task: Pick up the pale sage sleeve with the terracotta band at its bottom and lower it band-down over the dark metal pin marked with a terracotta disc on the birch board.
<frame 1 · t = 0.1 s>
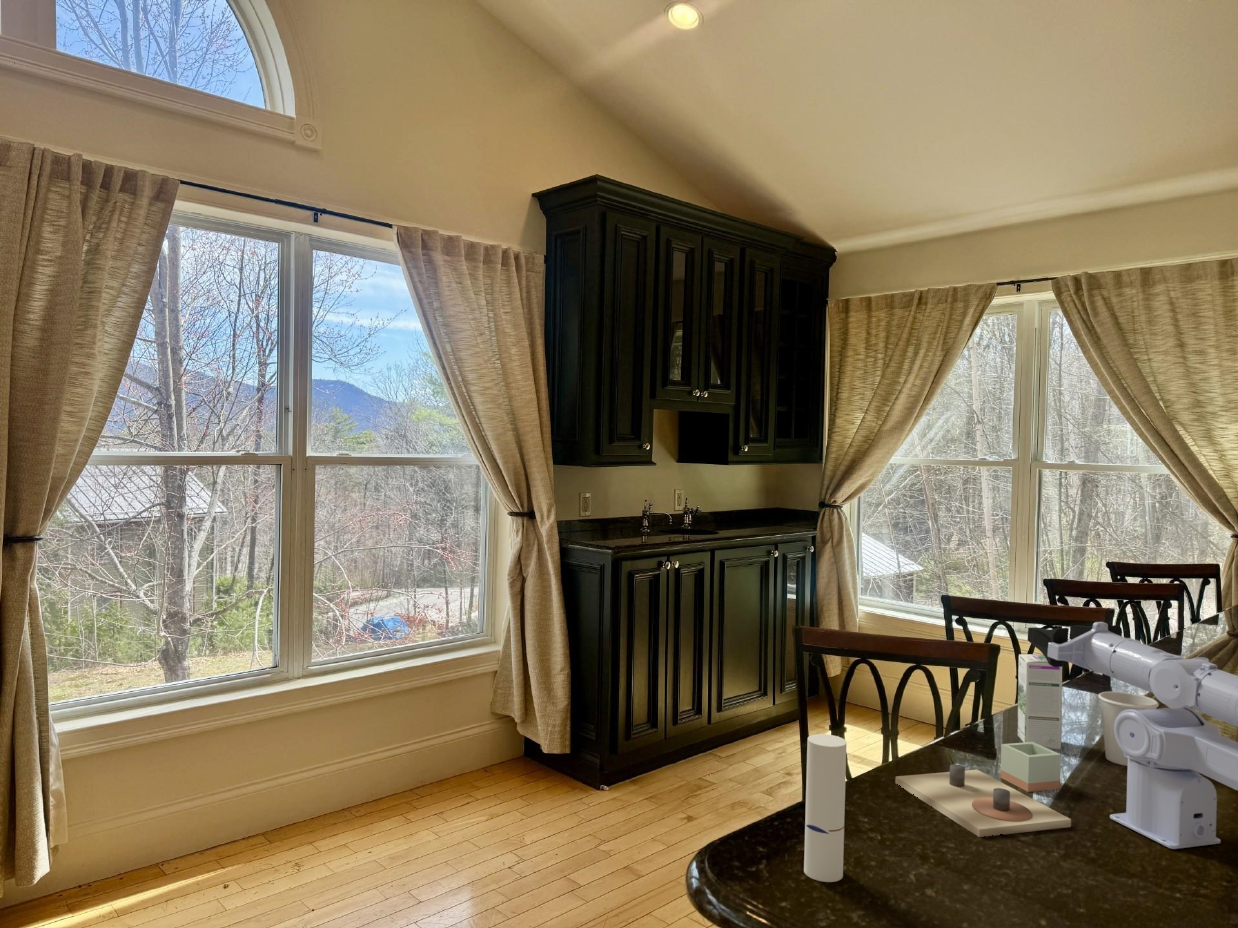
hand: (1050, 632, 128), 22 cm above the breakfast bar, tool horizontal, fingers open, 7 cm apart
syrup box: (1038, 744, 144), on the breakfast bar
tube: (823, 874, 96), on the breakfast bar
dixie cup: (1126, 761, 136), on the breakfast bar
sleeve: (1029, 782, 125), on the breakfast bar
pin board: (978, 803, 117), on the breakfast bar
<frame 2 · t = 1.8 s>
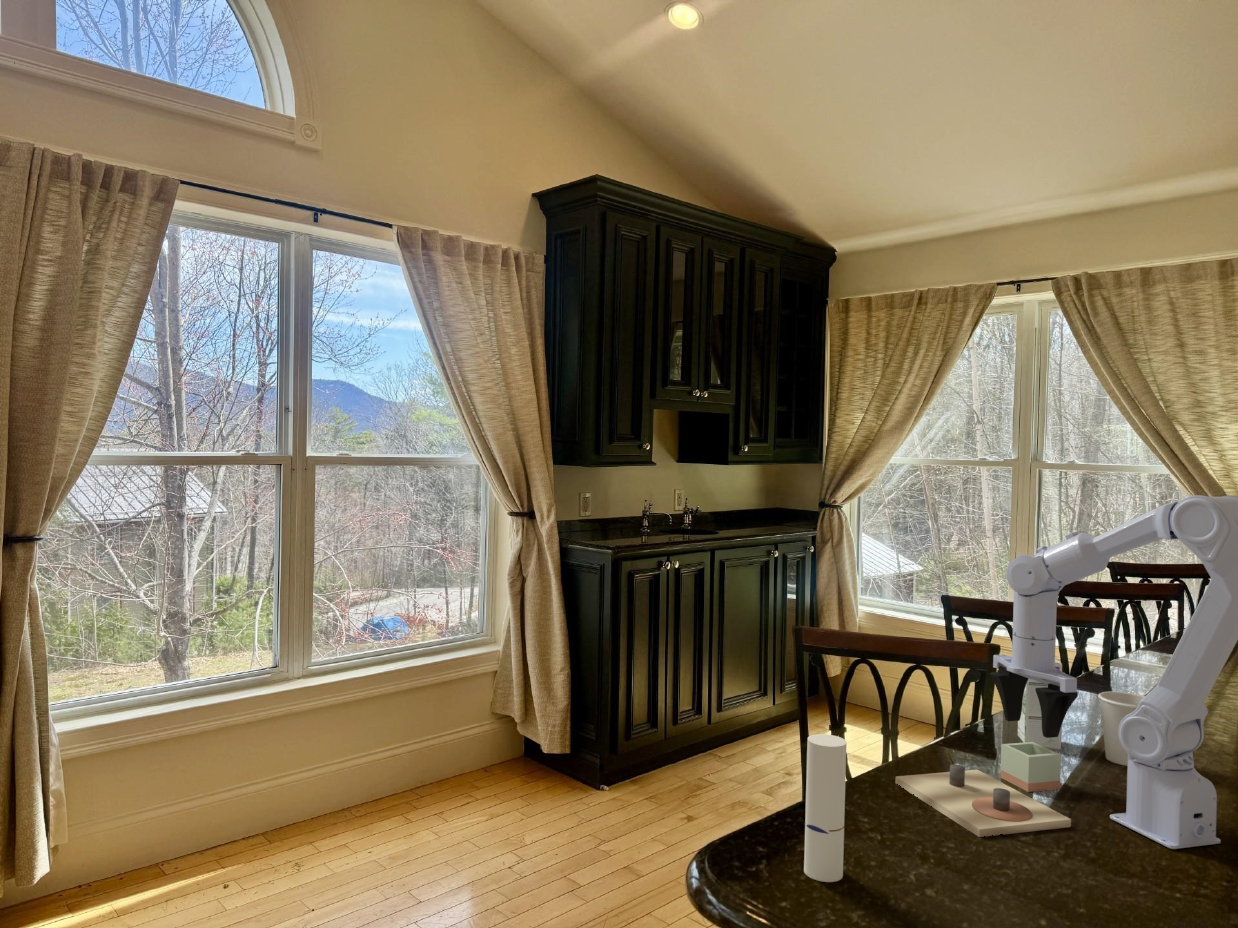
hand: (1031, 728, 125), 8 cm above the breakfast bar, tool pointing down, fingers open, 7 cm apart
nothing on the breakfast bar moved.
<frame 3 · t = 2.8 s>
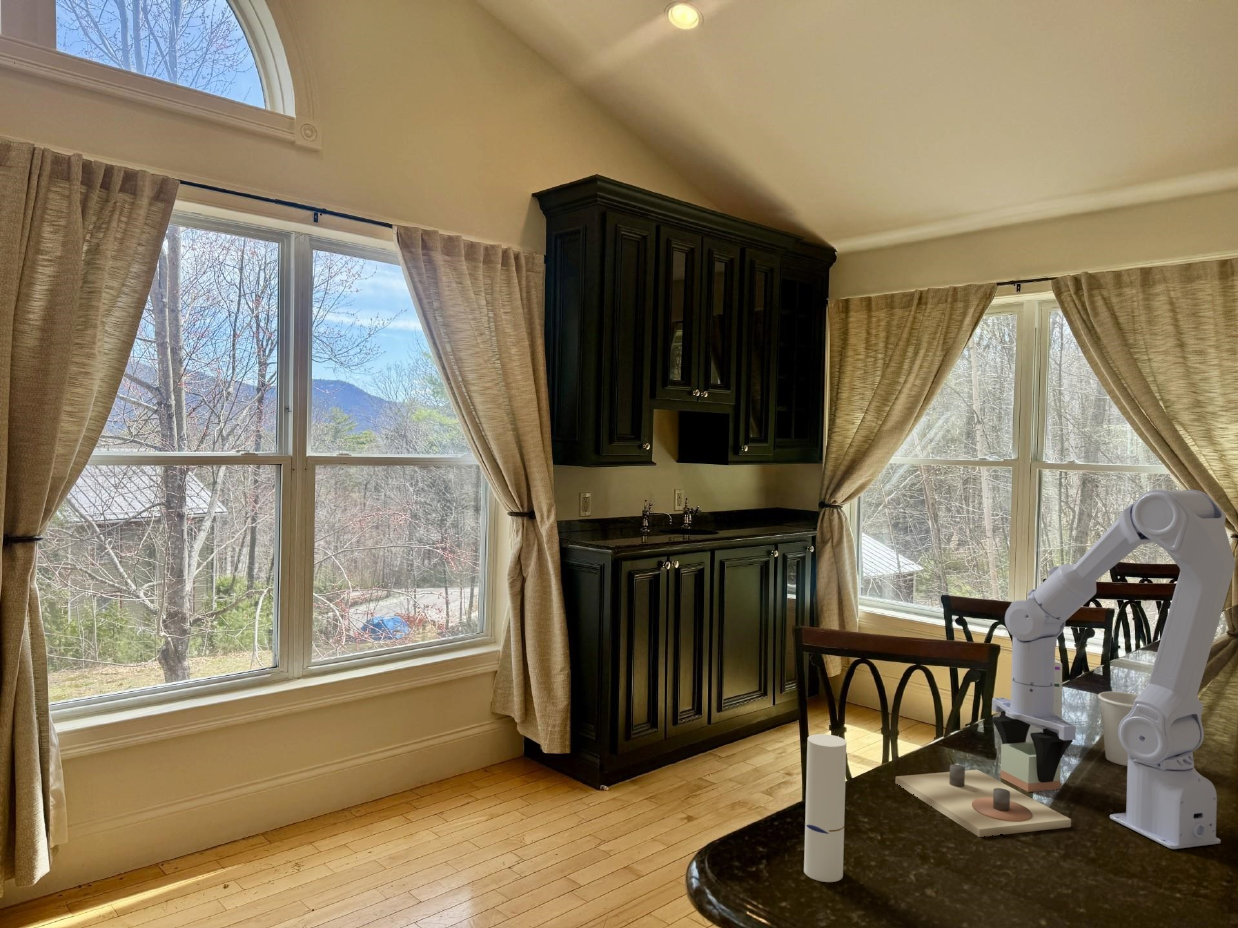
hand: (1030, 773, 125), 1 cm above the breakfast bar, tool pointing down, fingers closed on sleeve, 6 cm apart
sleeve: (1029, 782, 125), on the breakfast bar, touching gripper
everything else where it was.
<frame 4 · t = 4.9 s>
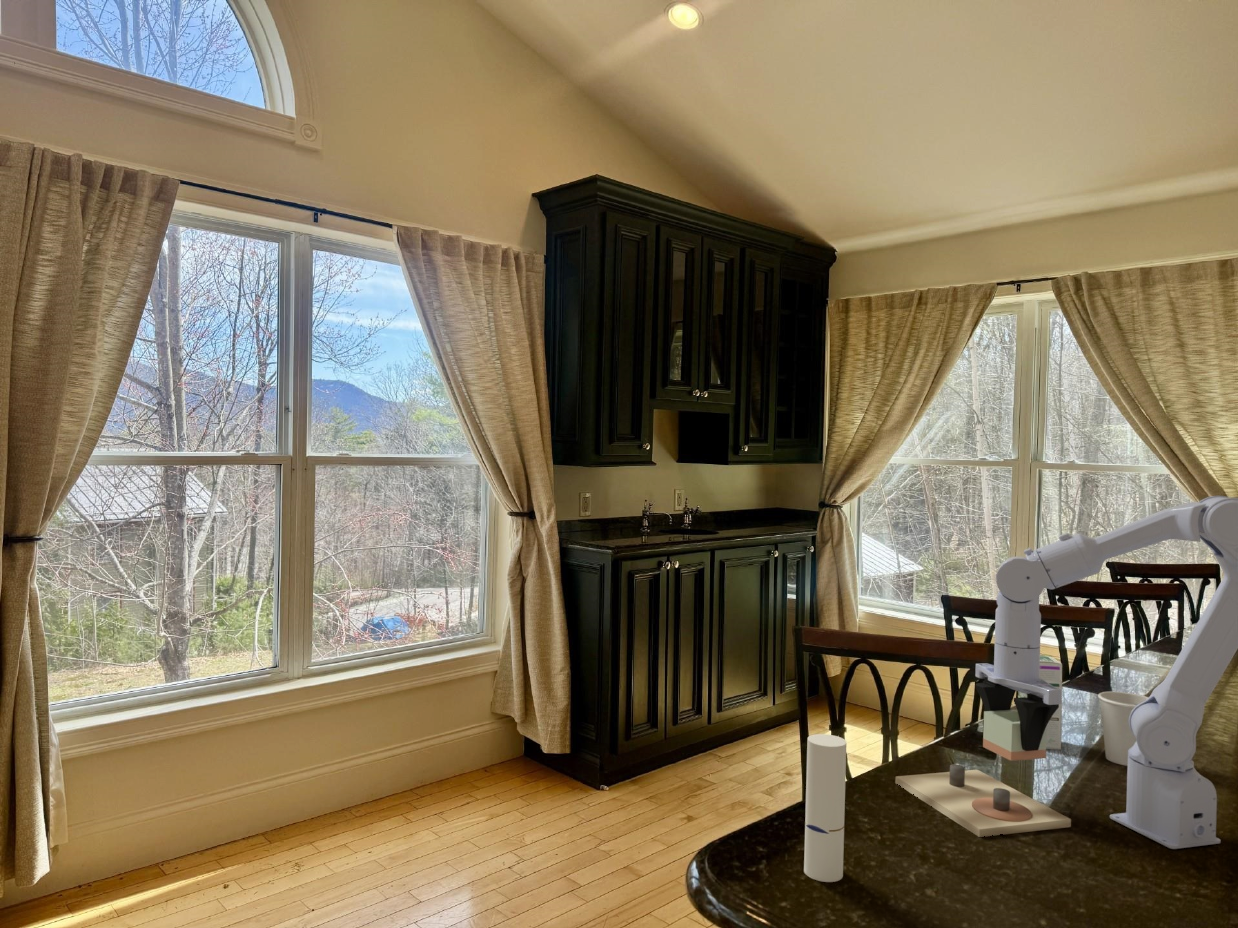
hand: (1014, 742, 117), 8 cm above the breakfast bar, tool pointing down, fingers closed on sleeve, 6 cm apart
sleeve: (1013, 752, 117), point 7 cm above the breakfast bar, touching gripper
everything else where it was.
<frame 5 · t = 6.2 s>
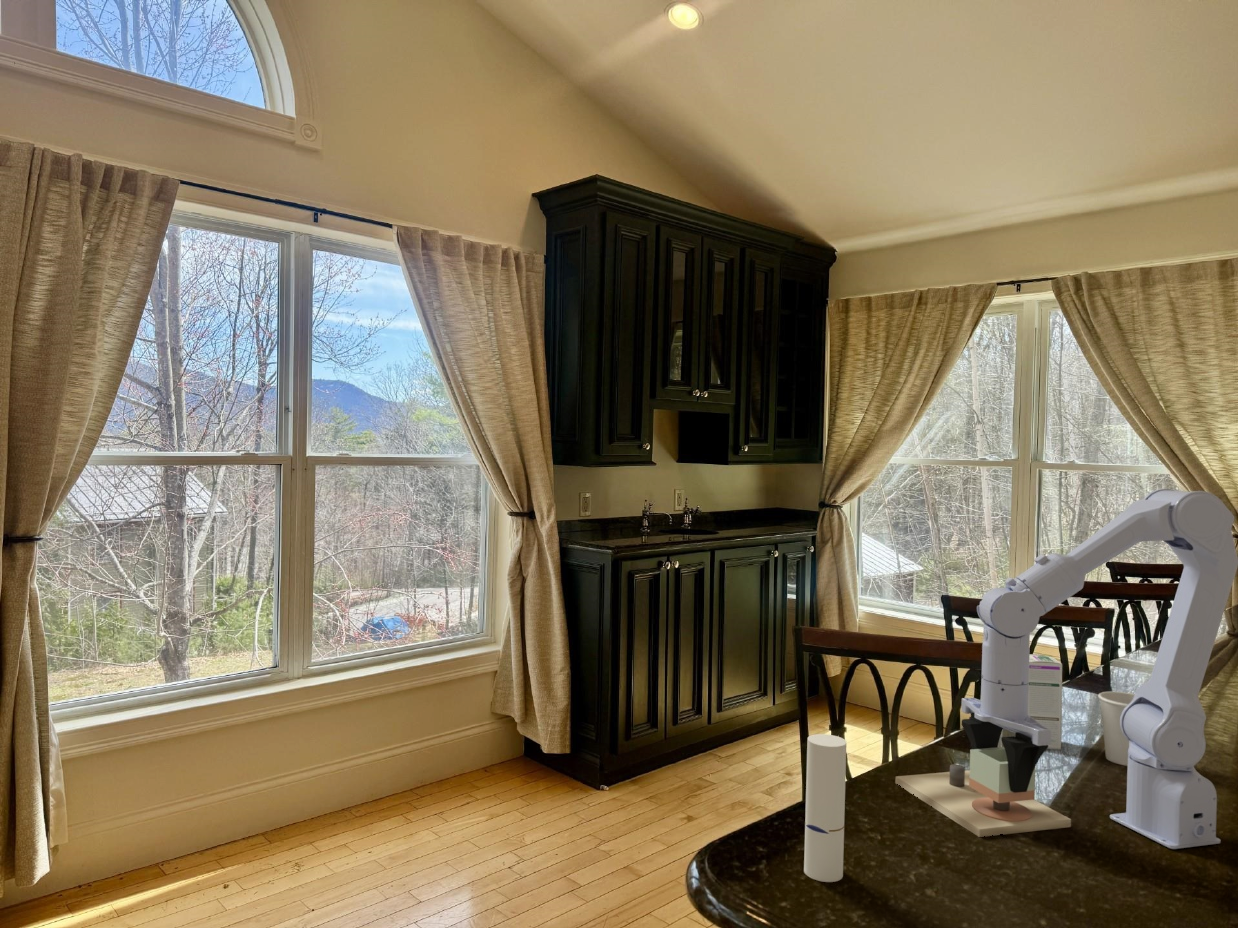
hand: (1001, 782, 112), 5 cm above the breakfast bar, tool pointing down, fingers closed on sleeve, 6 cm apart
sleeve: (1001, 792, 112), point 3 cm above the breakfast bar, touching gripper
everything else where it was.
when the fingers open (3 cm above the breakfast bar, at t = 7.1 s): sleeve stays where it is, resting on pin board.
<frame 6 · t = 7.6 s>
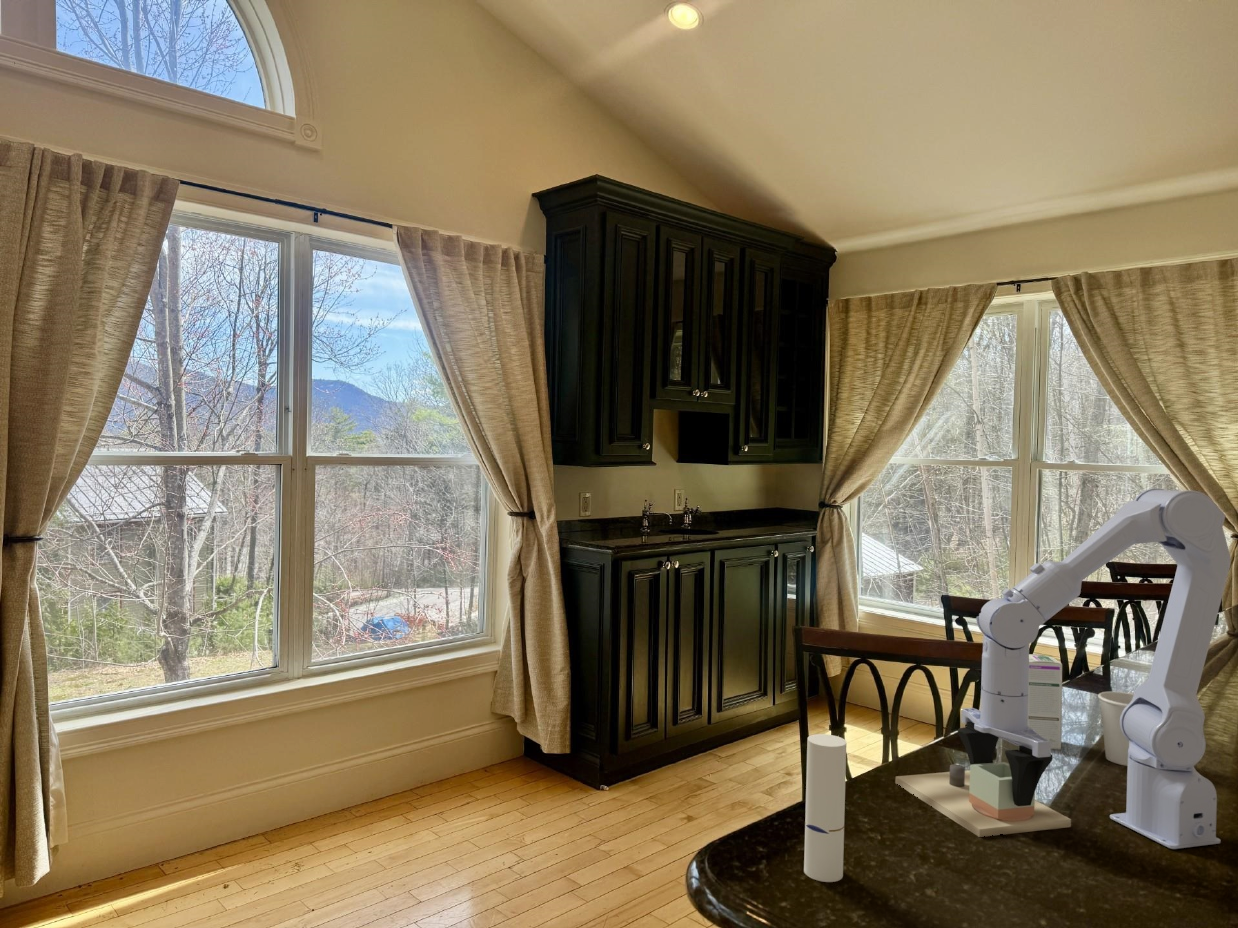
hand: (1001, 793, 112), 3 cm above the breakfast bar, tool pointing down, fingers open, 7 cm apart
sleeve: (1001, 808, 112), point 1 cm above the breakfast bar, touching pin board
everything else where it was.
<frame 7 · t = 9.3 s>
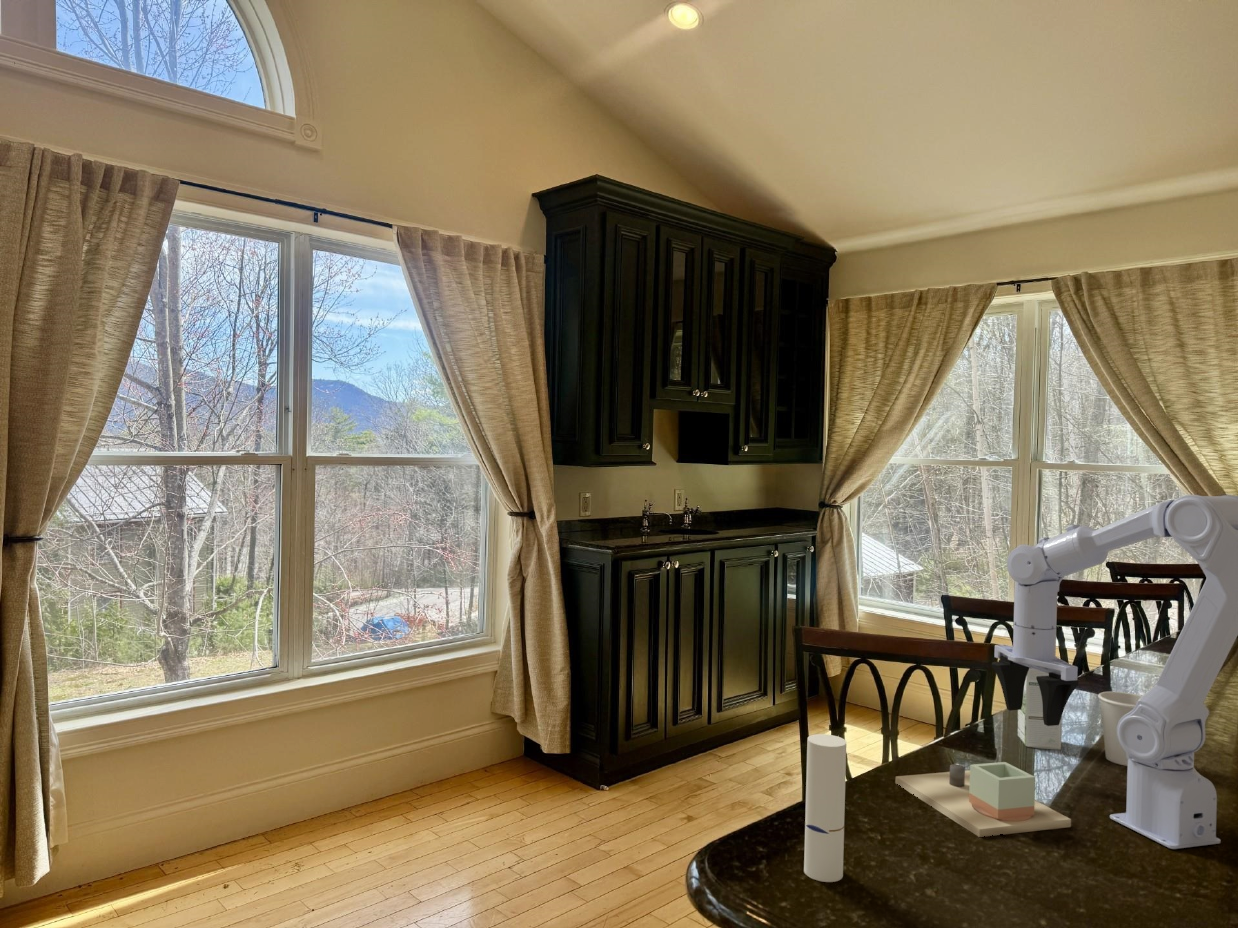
hand: (1032, 716, 126), 9 cm above the breakfast bar, tool pointing down, fingers open, 7 cm apart
nothing on the breakfast bar moved.
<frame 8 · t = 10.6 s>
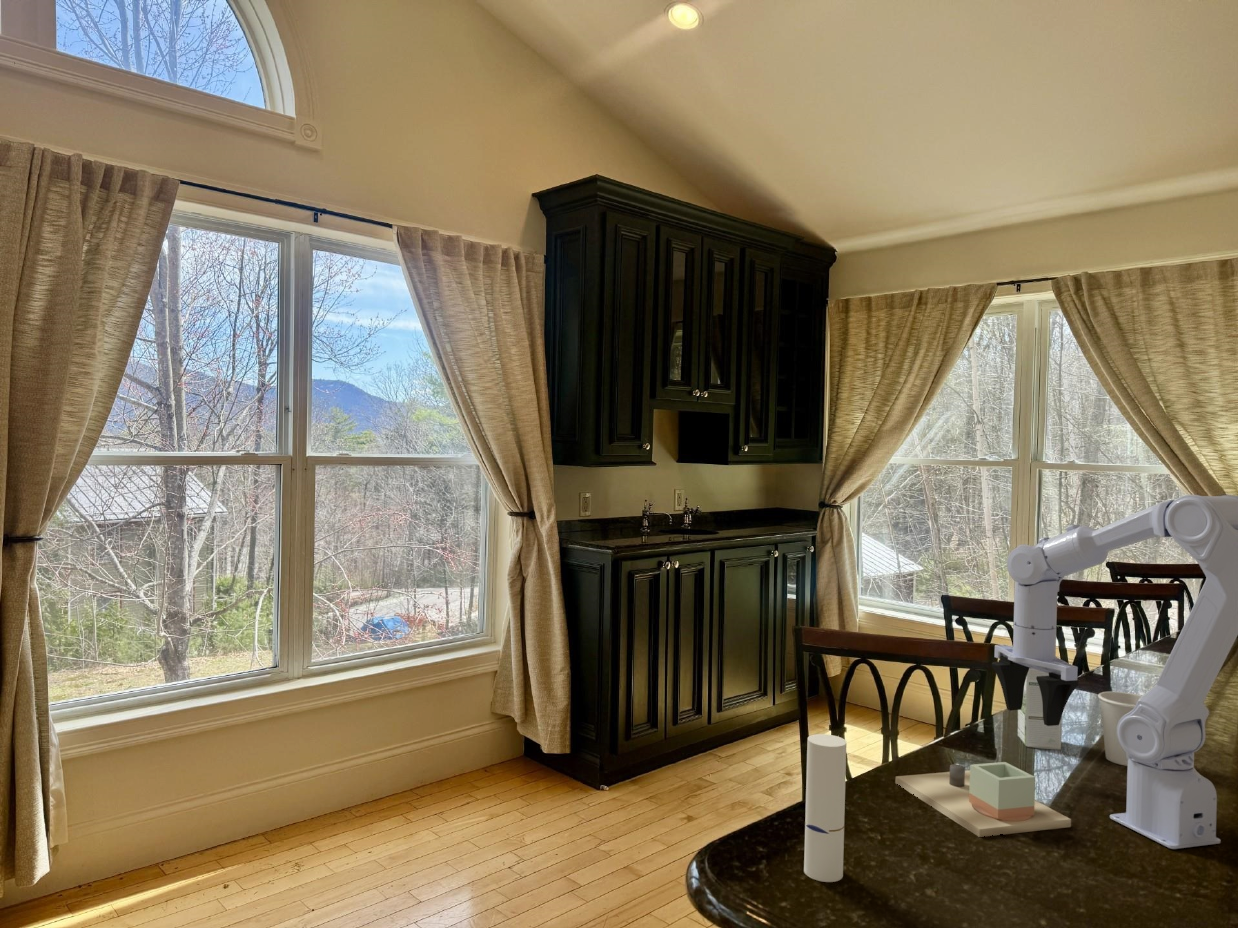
hand: (1032, 716, 126), 9 cm above the breakfast bar, tool pointing down, fingers open, 7 cm apart
nothing on the breakfast bar moved.
at the end: sleeve 0.0 cm from the target spot on the pin board, point 1.2 cm above the pin board's base; sleeve tilted 0°; the gripper is holding nothing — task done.
